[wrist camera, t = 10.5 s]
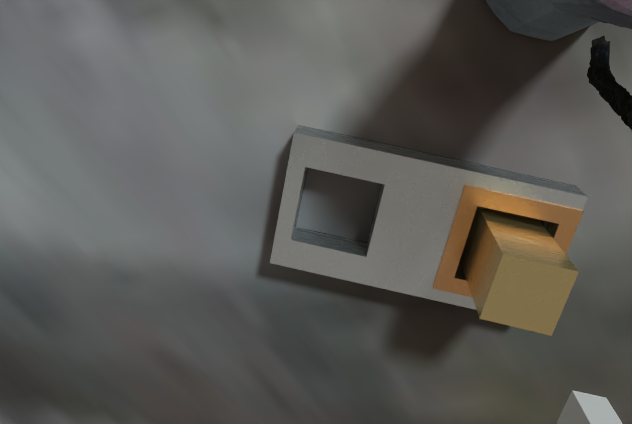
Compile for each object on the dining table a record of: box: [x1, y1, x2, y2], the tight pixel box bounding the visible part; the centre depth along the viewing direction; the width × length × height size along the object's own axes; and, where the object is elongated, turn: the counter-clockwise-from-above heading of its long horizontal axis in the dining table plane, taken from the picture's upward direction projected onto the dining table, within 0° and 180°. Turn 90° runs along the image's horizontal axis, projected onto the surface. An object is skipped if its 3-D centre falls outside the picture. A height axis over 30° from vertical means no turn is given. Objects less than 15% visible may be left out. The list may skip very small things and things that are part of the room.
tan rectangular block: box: [460, 206, 579, 336], centre depth 36 cm, size 4×4×9 cm
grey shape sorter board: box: [270, 125, 588, 310], centre depth 39 cm, size 20×10×3 cm, turn 78°
